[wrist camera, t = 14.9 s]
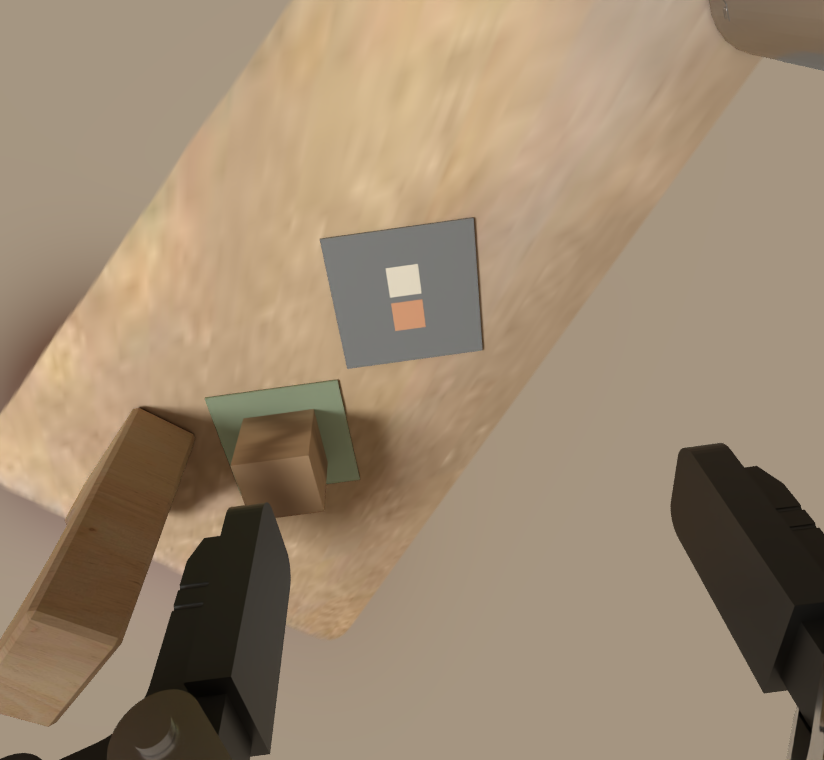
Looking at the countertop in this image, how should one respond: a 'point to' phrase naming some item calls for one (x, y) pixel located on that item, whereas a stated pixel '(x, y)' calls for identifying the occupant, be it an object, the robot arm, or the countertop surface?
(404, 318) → the tile
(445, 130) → the countertop surface
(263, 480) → the walnut block
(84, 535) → the decorative block
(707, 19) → the countertop surface
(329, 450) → the mat
